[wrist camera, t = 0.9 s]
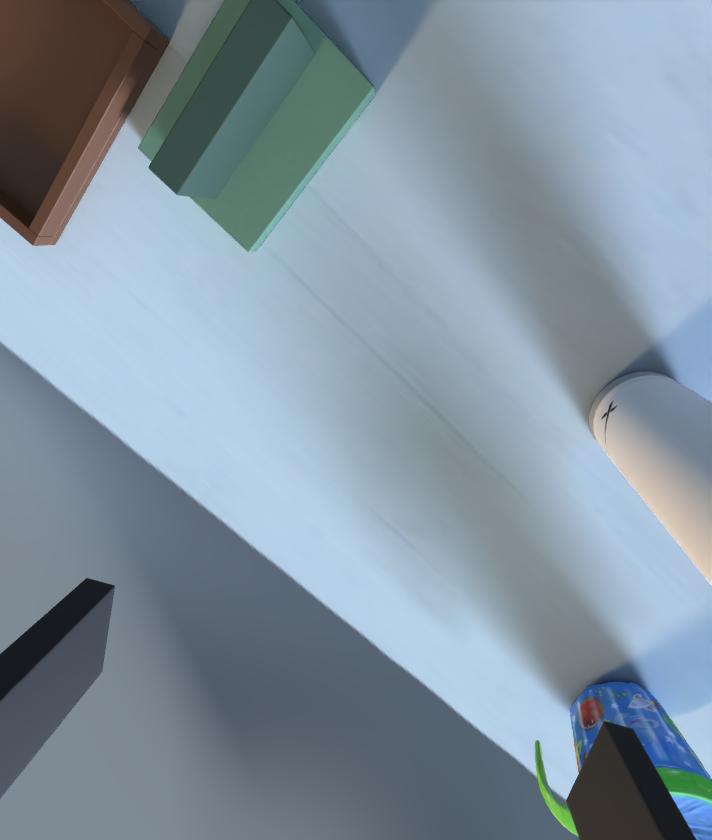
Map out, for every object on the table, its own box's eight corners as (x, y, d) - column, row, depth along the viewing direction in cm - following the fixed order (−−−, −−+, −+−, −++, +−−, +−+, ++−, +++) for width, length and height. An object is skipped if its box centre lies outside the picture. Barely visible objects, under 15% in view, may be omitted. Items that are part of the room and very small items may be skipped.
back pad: (260, -32, 27) (212, -106, 21) (376, 93, 28) (363, 57, 22) (150, 151, 31) (84, 133, 25) (255, 251, 32) (217, 257, 26)
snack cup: (719, 667, 40) (809, 801, 31) (698, 752, 44) (772, 894, 34) (524, 659, 42) (552, 781, 33) (521, 740, 46) (545, 870, 37)
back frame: (-10, -139, 26) (-44, -168, 25) (170, 41, 29) (151, 27, 27) (-101, 109, 32) (-134, 102, 30) (55, 245, 34) (32, 246, 32)
